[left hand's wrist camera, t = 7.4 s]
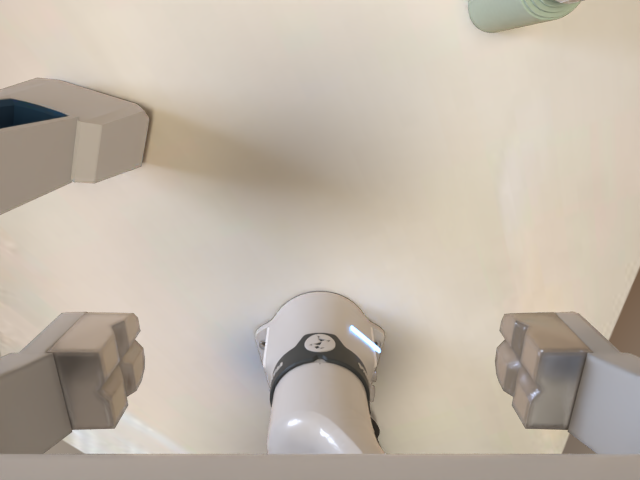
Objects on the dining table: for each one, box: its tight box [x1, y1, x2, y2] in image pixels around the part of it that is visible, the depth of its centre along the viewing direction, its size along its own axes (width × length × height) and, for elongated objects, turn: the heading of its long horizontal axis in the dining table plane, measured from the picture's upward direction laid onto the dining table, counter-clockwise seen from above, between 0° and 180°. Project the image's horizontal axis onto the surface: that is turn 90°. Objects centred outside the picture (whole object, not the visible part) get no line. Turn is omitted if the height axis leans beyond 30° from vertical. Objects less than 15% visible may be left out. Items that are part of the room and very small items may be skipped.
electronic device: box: [0, 78, 149, 215], centre depth 41 cm, size 12×8×30 cm, turn 73°
